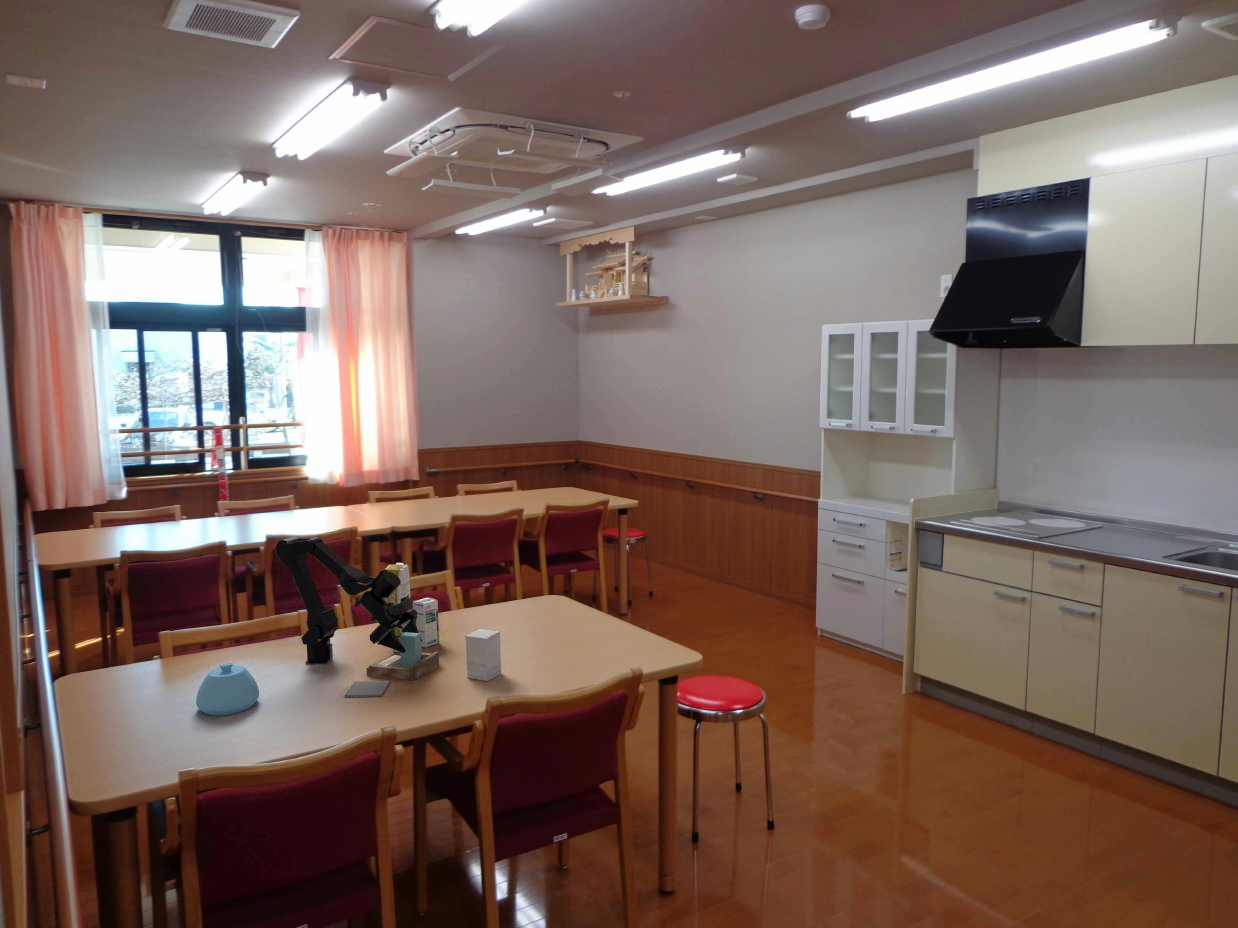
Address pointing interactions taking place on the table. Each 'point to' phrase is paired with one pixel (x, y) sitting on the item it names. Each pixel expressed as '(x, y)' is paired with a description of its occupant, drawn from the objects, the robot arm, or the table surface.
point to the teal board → (410, 649)
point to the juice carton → (399, 587)
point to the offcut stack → (392, 661)
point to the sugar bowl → (227, 690)
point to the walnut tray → (413, 674)
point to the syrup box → (427, 620)
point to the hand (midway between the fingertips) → (413, 646)
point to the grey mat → (367, 689)
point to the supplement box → (483, 654)
